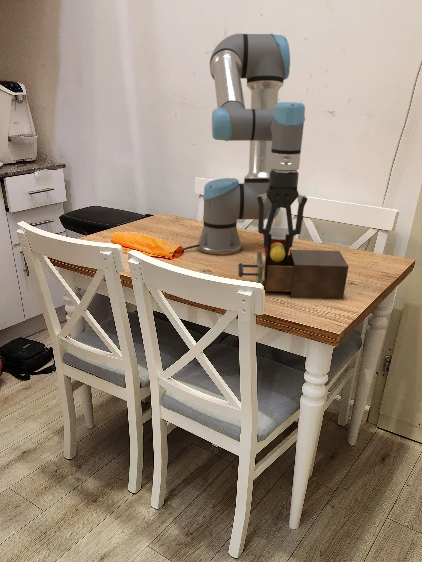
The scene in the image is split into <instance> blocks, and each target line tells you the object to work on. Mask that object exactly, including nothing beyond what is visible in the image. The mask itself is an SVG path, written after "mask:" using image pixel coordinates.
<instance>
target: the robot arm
mask: <svg viewBox="0 0 422 562" xmlns="http://www.w3.org/2000/svg"><path fill="white" fill-rule="evenodd" d="M290 50H291V49H290V45H289V42H288V39H287V37H286V36H285V35H282V34H274V33H234V34H231V35H229V36H226V37H225V38H224V39H222V40H221V41H220V42H219V43H218V44H217V45H216V46H215V48H214V49H213V51H212V53H211V56H210V59H209V73H210V76H211V78H212V79H213V80H214V88H215V97H216V107H217V108H214V109H213V110H212V113H211V137H212V138H213V140H217V141H224V142H229V141H231V142H233V141H239V142H240V141H242V142H244V141H245V142H246V141H247V142H248V141H249V156H248V157H249V159H248V163H249V164H248V172H247V174H246V175H245V176H244V179H243V183H240V182H239V180H238V178H235V177H231V178H230V177H225V178H223V177H222V178H217V179H213V180H210V181H208V182H206V184H204V187H203V196H202V199H203V226H202V227H203V228H202V230H201V233H200V236H199V240H198V242H197V243H198V244H195V245H191V246H187V247H183V248H182V249H183V250H181V251H179V252H178V253H180V252H183V251H186V250H190V249H194V248H198V250H199V251H200V252H202V253H205V254H209V255H214V256H227V255H234V254H237V253H239V252H240V251H241V250H242V249H241V248H242V243H241V239H240V236H239V231H238V228H237V227H238V226H237V225H238V224H237V223H238V220H257V221H258V222H257V231H258V233H259V234H262V236H263V235H264V238H263V247H264V248H265V247H267V260H270V250H271V238H272V236H271V234H269V233H270V230H271V227H273V222H274V219H275V218H277V217H278V215H279V213H280V211H281V209H285V215H286V224H287V228H288V233H289V234H286V237H285V247H284V250H285V257H284V260H287V255H288V248H290V249H291V248H293V244H294V243H293V242H294V239H293V237H294V235H296V236H297V235H300V234H301V231H302V224H303V217H304V209H305V206H306V203H307V202H308V197H307V196H306V195H302V194H300V193H299V191H298V190H299V189H298V184H299V176H300V175H299V172H298V170H300V162H301V152H302V145H303V144H302V143H303V135H304V125H305V121H306V116H305V115H306V114H305V112H306V105H305V104H304V103H302V102H296V101H280V102H279V91H280V89H282V87H283V86H284V81H285V80H288V78H289V77H290V76H289V75H290V67H291V53H290ZM242 79H246V86H247V88H248V89H249V90H250V93H251V94H250V99H251V100H250V108H246V105H245V98H244V92H243V87H242ZM296 200H297V203H298V206H297V213H296V220H295V221H296V222H295V228H294V225H293V217H292V216H293V215H292V207H291V206H292V205H293V204H294V202H295V201H296ZM265 220H266V224H265V227H264V221H265ZM264 228H265V229H264ZM294 238H295V237H294Z"/></svg>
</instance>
